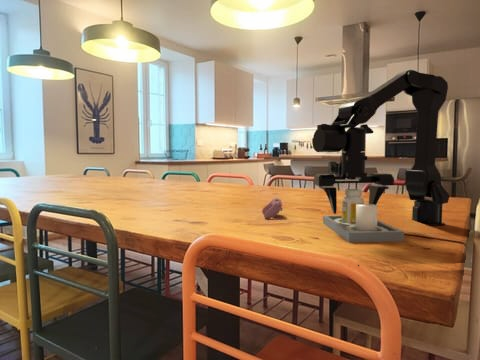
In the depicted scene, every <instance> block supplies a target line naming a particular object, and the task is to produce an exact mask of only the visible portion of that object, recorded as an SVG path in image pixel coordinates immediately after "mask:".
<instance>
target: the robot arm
mask: <svg viewBox="0 0 480 360" xmlns="http://www.w3.org/2000/svg"><path fill="white" fill-rule="evenodd" d="M448 91H449V86H448V81H447V80H445V78H444V77H443V76H440V75H435V74H430V73H424V72H419V71H417V70H414V69H408V70H405V71H401V72H399V73H397V74H396V75H395V76H393V77H392V78H391V79H389V80H387V81H386V82H384V83H382V84H381V85H379V86H378V87H377V88H375V89H374V90H372V91H370V92H369V93H367V94H366V95H364V96H362V97H359V98H355V99H353V100H350V101H347V102H345V103H343V104H341V105H340V106H339V107H338V112H337V115H336V116H335V118H334V120H332V122H331V123H330V124H328V123H319V124H317V126H316V130H315V131H314V133H313V137H312V139H311V143H312V144H311V145H312V148H313V150H314V151H315V152H316V153H340V152H341V155H340V158H339V162H337V161H329V162H328V166H327V170H328V171H327V172H328V173H316V174H315V175H314V177H313V185H315V186H318V187H319V189H322V190H323V191H324V192H325V194H326V196H327V199H328V202H329V204H330V208H331V211H332V213H333V214H334V215H336V214H337V211H338V210H337V203H338V202H337V187H335V184H368V185H367V187H368V189H369V197H368V204H374V205H377V204H378V202H379V200H380V198H381V197H382V195H383V194H384V192H385V191H386V190H389V189H390V187H389V186H394V185H395V177H394V176H393V174H392V173H385V172H374V173H373V172H372V173H370V174H369V175H368V172H366V161H368V155H366V145H367V144H366V143H367V140H366V139H367V138H366V135H369V134H373V133H374V130H373V129H372V128H370V127H369V125H368V124H367V123H368V121H369V120H370V119H372V118H373V117H374V115H376V112H377V110H378V109H379V108H380V107H381V106H383V105H384V104H386V103H387V102H389V101H390V100H392V99H393V98H395V97H396V96H397V95H399V94H400V93H402V92H404V94H405V95H408V96H410V97H411V102H412V105H413V107H414V108H415V110H416V112H417V113H416V115H417V118H416V119H417V120H416V132H415V133H416V134H415V147H414V148H415V149H414V151H415V153H414V163H413V166H412V167H411V168H410V169H406V170H405V181H404V184H403V185H405V190H406V191H407V194H408V197H409V198H408V199H409V200H410V201H414V202H413V203H414V204H413V206H412V209H411V210H412V215H411V217H412V218H411V221H414V222H416V223H420V224H422V225H425V226H446V223H445V222H443V205H444V204H448V203H449V201H450V194H449V193H448V192H447V190H446V189H445V187H444V186H443V185H442V178H441V177H442V175H441V173H440V171H439V169H438V168H437V166H436V156H437V155H436V152H437V151H436V150H437V140H438V139H437V137H438V125H439V111H440V110H441V108H442V107H443V105H444V104H445V102H446V99H447V94H448ZM359 125H360V126H359ZM346 129H347V130H346Z"/></svg>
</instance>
